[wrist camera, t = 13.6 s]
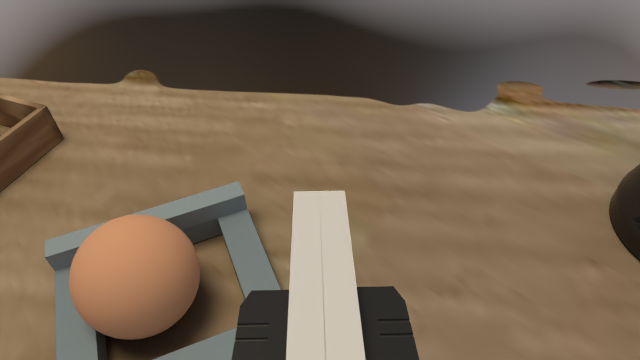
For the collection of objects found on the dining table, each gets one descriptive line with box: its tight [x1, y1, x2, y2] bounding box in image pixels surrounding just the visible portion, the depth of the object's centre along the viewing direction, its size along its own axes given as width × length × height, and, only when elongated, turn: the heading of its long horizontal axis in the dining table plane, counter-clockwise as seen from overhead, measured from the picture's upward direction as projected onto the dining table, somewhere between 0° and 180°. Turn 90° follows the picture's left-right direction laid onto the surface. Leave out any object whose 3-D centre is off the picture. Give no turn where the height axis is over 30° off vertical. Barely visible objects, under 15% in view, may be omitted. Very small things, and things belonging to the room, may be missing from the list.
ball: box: [69, 215, 200, 340], centre depth 40 cm, size 10×10×10 cm
